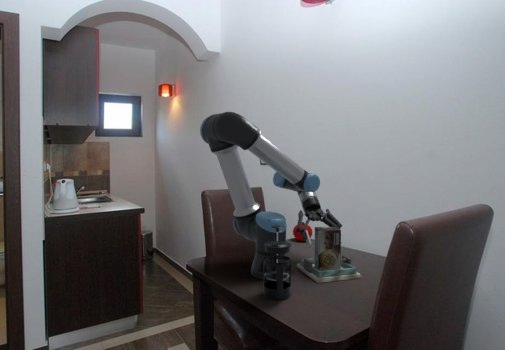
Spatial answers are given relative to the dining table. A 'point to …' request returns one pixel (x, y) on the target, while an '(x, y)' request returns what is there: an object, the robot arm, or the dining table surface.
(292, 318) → the dining table surface
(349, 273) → the tray
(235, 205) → the robot arm
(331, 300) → the dining table surface
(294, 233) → the tomato
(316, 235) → the coffee box
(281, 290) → the french press
